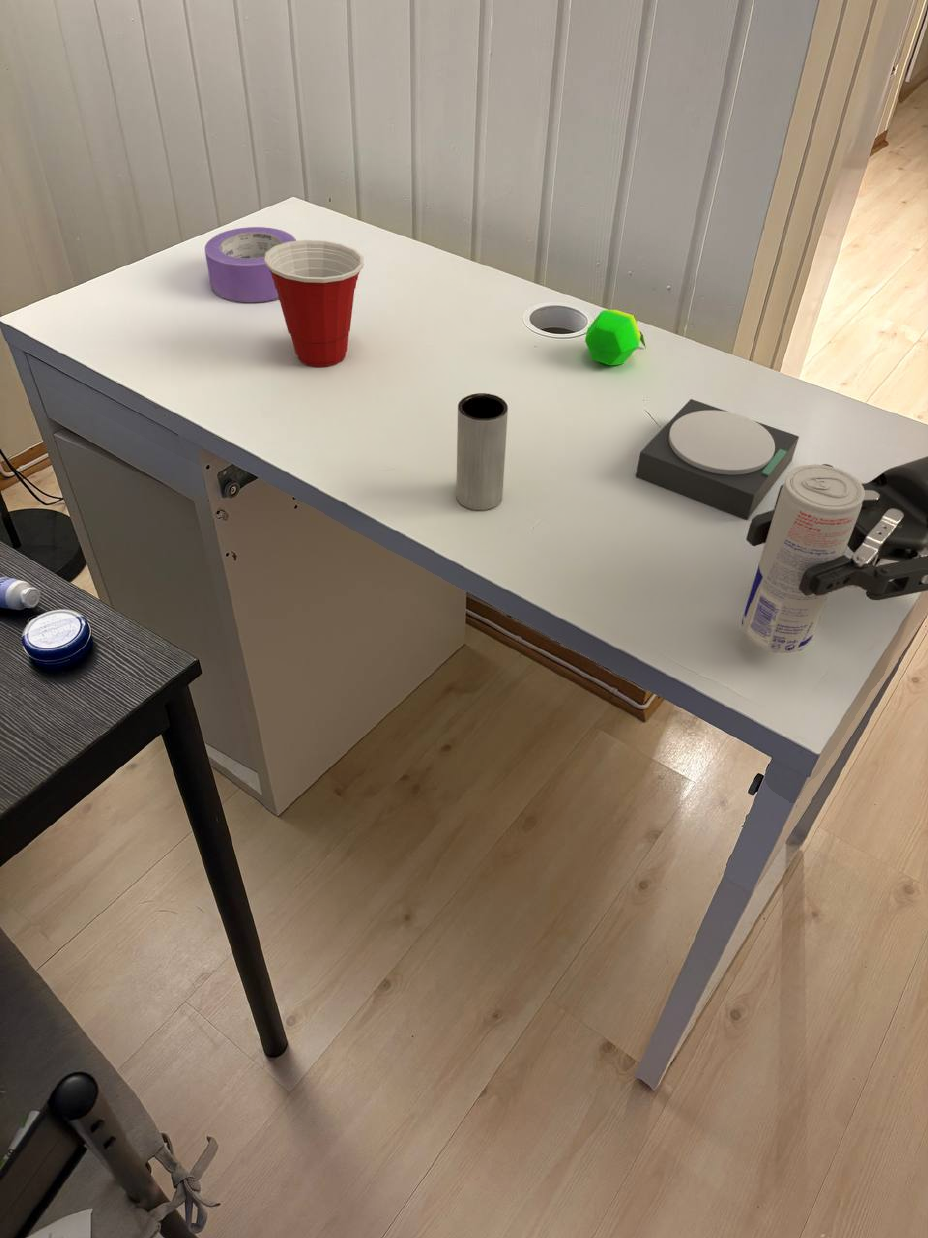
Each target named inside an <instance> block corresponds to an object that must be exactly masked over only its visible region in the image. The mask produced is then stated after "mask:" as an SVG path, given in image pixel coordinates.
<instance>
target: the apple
mask: <svg viewBox="0 0 928 1238" xmlns="http://www.w3.org/2000/svg"><path fill="white" fill-rule="evenodd" d="M638 323H639V322H638V320H637V318H636V315H634V314H630V313H627V312H624V311H621V310H617V309H603V310H602V311H600V313H599V314H598V315H597V316H596V318H595V319H594V321H592V323H591V324H590V325H589V326H588V328H587V329H586V333H585V339H584V342H585V344H586V347H587V350H588V352H589V355H590V358H591V360H594V361H595V362H599V363H601V364H602V363H603V364H605V365H607V366H617V365H618V366H619V365H624V363H625V362H626V361H627V360H628V359H629V358H630V357H631V356H632V354H633V353H634V352H635V351H636V350H637V349H638V348H639V347H640V342H641V344H642V345H643V347H644V348H645V349H647V347H646V343H645V338H644V335H643V333H642V331H641V330H640V329H639V327H638Z"/></svg>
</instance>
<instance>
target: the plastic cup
mask: <svg viewBox="0 0 928 1238" xmlns="http://www.w3.org/2000/svg"><path fill="white" fill-rule="evenodd" d="M264 261H265V264H266V266H267V267H268V268H269V270H270V272H271V275H272V279H273V280H274V285H275V288H276V289H277V293H278V296H279V298H278V300H279V303H280V306H281V310H282V315H283V317H284V321H285V324H286V327H287V331H288V334H289V336H290V338H291V343H292V346H293V350H294V352H295V355H296V357H297V359H298V360H299V361H300V363H302V364H304V365H306V366H308V367H309V366H310V367H315V368H326V367H327V368H328V367H331V366H335V365H337V364H339V363H341V362H342V361H344V359H345V358H346V355H347V352H348V345H349V335H350V334H349V333H350V330H351V325H352V324H351V323H352V315H353V305H354V299H355V298H354V297H355V290H356V287H357V281H358V279H359V275H360V272H361V271H362V270H363V269H364V266H365V261H364V256H363V255H362V254H361V253H360V252H359V251H358V250H357V249H354V248H352V247H350V246H348V245H346V244H343V243H339V242H338V243H337V242H333V241H328V240H321V239H320V240H319V239H301V240H296V241H291V242H286V243H283V244H280V245H277V246H274V247H272V248H271V249H270V250H269V251H267V252H266V253H265V260H264Z"/></svg>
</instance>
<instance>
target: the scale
mask: <svg viewBox="0 0 928 1238" xmlns="http://www.w3.org/2000/svg"><path fill="white" fill-rule="evenodd" d="M799 439H800V436H799V435H796V434H793V433H791V432H787V431H785V430H781V429H779V428H776V427H773V426H770V425H767V424H764V423H763V422H759V421H756V420H754V419H751V418H749V417H747V416H744V415H741V414H738V413H735V412H730V411H727V410H724V409H721V408H718V407H715V406H713V405H710V404H707V403H704V402H702V401H698V400H696V399H693V398H691V399H689V400H688V401H687V402H686V403H685V405H684V406H683V407H681V409H679V411H678V412H676V414H675V415H674V416H673V417H672V418H671V419H670V420H669V421H668V422H667V423H666V424H665V425H664V426H663V428H662V429H660V431H659V432H657V434H656V435H654V437H653V438H652V439H651V440H650V441H649V442H648V443H647V444H646V445H645V446H644V447H643V449H642V450H640V452H639V455H638V461H637V467H636V473H635V477H637V478H639V479H640V480H641V479H642V480H644V481H647V482H649V483H652V484H655V485H656V486H659V487H662V488H664V489H667V490H670V491H672V492H675V493H677V494H680V495H682V496H685V497H688V498H690V499H693V500H695V501H698V502H701V503H702V504H705V505H708V506H710V507H713V508H716V509H718V510H721V511H723V512H726V513H729V514H732V515H733V516H736V517H739V518H741V519H744V520H746V521H747V520H748V519H749V518H750V517H751V516H752V514H753V513H754V512H755V510H756V509H757V508H758V506H759V505H760V504H761V502H762V501H763V499H764V498H765V497H766V496H767V494H768V493H769V491H770V490H771V489H772V488H773V486H774V485H775V483H776V482H777V481H778V480H779V478H781V476H782V474H783V473H784V472H785V470H786V469H787V468H788V466H789V465H790V463H791V462H792V461H793V459H794V454H795V451H796V448H797V445H798V442H799Z"/></svg>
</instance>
